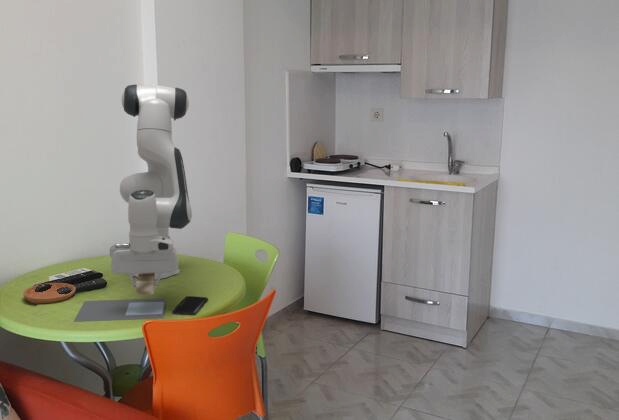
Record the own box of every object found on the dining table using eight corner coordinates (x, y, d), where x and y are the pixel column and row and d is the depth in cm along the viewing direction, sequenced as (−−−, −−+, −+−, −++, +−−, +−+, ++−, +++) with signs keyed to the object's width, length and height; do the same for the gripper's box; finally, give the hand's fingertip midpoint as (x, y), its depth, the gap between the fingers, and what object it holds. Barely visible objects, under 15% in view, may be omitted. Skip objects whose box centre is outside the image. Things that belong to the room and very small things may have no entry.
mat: (84, 302, 199) (84, 300, 199) (166, 299, 204) (166, 297, 204) (73, 323, 182) (73, 321, 182) (163, 320, 186) (163, 318, 186)
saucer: (75, 288, 213) (74, 280, 213) (76, 304, 199) (76, 295, 198) (24, 293, 207) (24, 284, 207) (22, 309, 193) (21, 300, 192)
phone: (208, 297, 205) (195, 313, 190) (208, 300, 205) (195, 316, 191) (186, 295, 206) (170, 311, 191) (186, 299, 206) (170, 315, 192)
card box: (136, 295, 188) (136, 282, 187) (139, 286, 196) (138, 273, 195) (153, 294, 188) (152, 281, 188) (155, 285, 197) (154, 272, 196)
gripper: (107, 246, 185) (110, 290, 187) (177, 244, 188) (178, 287, 191) (110, 241, 191) (112, 284, 193) (177, 239, 194) (179, 281, 197)
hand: (146, 285), depth 192 cm, fingers closed on card box, 5 cm apart
